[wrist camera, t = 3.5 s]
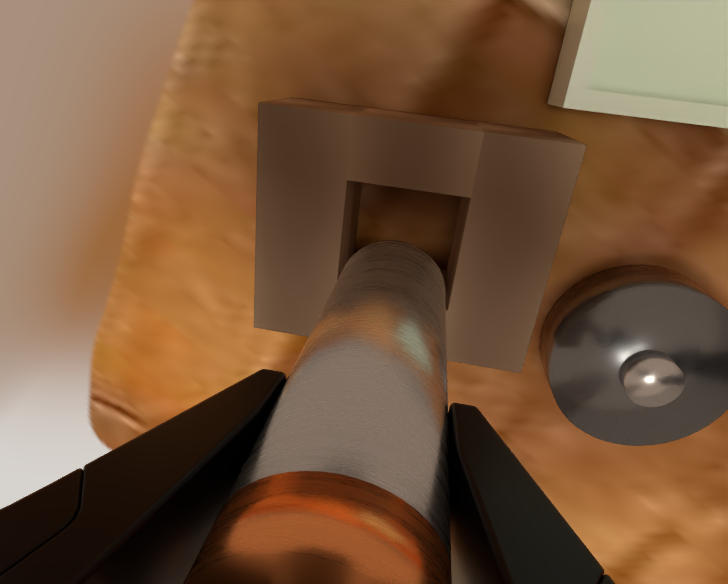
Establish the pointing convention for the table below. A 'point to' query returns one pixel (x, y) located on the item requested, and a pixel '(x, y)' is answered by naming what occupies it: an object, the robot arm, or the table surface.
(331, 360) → the pin
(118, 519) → the robot arm
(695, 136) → the table surface
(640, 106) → the tray
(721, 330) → the dark grey knobbed lid
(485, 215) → the block
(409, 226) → the table surface
